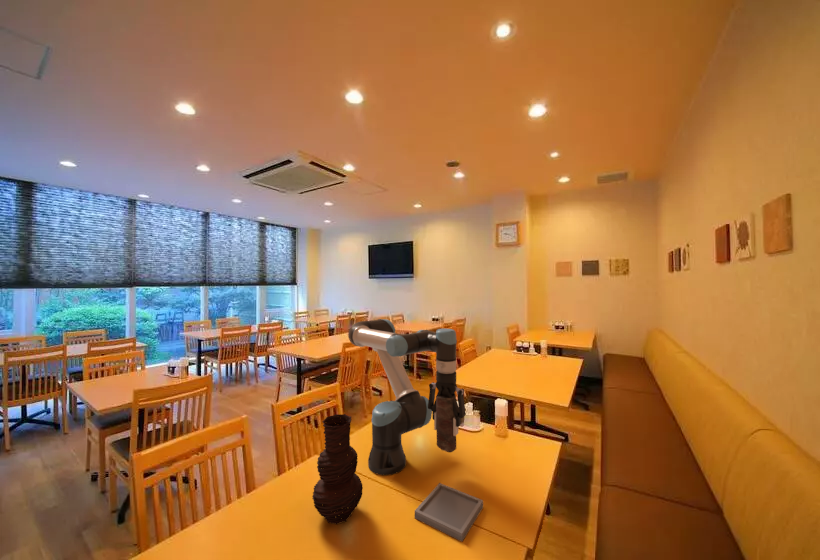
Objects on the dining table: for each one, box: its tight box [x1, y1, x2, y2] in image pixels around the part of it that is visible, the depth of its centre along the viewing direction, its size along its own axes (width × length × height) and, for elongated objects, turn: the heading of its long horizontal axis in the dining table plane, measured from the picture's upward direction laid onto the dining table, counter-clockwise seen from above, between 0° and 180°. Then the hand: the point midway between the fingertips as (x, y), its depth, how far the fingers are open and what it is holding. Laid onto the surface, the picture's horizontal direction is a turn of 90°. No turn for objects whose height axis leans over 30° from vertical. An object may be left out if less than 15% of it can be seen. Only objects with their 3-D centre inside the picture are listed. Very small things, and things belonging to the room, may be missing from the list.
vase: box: [311, 413, 364, 525], centre depth 100 cm, size 15×15×30 cm
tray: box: [414, 482, 484, 542], centre depth 100 cm, size 16×16×2 cm
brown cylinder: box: [435, 395, 457, 453], centre depth 119 cm, size 8×7×20 cm
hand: (446, 431), depth 119 cm, fingers closed on brown cylinder, 7 cm apart
